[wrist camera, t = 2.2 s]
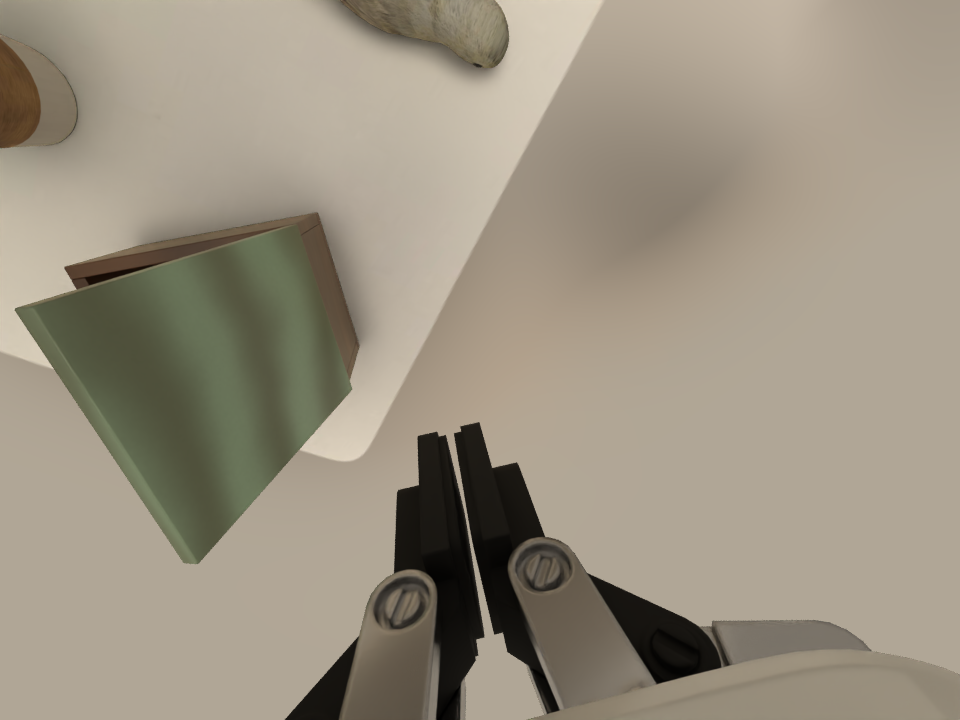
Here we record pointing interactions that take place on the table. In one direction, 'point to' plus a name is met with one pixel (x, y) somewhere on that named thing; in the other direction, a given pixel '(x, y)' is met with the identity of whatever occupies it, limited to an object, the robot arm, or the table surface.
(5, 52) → the coffee cup
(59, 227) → the table surface
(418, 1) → the decorative bird
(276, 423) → the green rectangular panel
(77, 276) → the cold frame
